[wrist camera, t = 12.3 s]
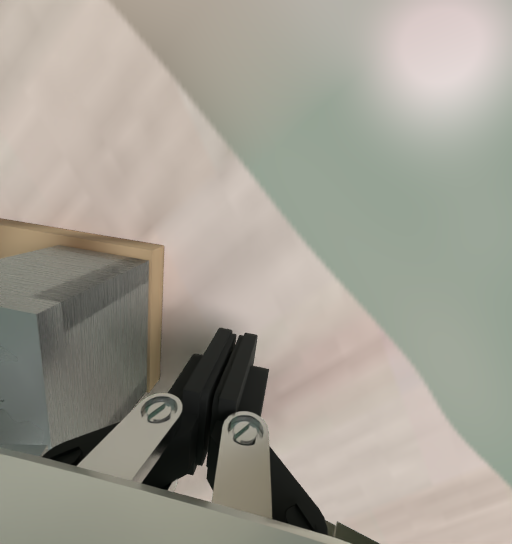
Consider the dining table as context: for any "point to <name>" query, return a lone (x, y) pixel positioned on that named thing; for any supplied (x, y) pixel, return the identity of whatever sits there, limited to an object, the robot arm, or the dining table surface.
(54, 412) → the grey concrete block
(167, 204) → the dining table surface
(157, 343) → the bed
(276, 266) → the dining table surface
